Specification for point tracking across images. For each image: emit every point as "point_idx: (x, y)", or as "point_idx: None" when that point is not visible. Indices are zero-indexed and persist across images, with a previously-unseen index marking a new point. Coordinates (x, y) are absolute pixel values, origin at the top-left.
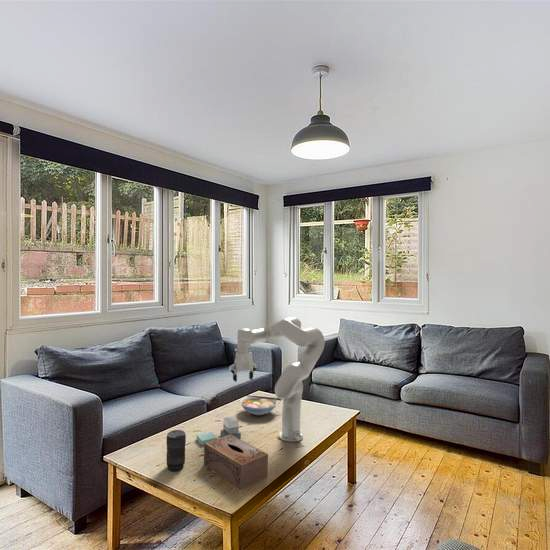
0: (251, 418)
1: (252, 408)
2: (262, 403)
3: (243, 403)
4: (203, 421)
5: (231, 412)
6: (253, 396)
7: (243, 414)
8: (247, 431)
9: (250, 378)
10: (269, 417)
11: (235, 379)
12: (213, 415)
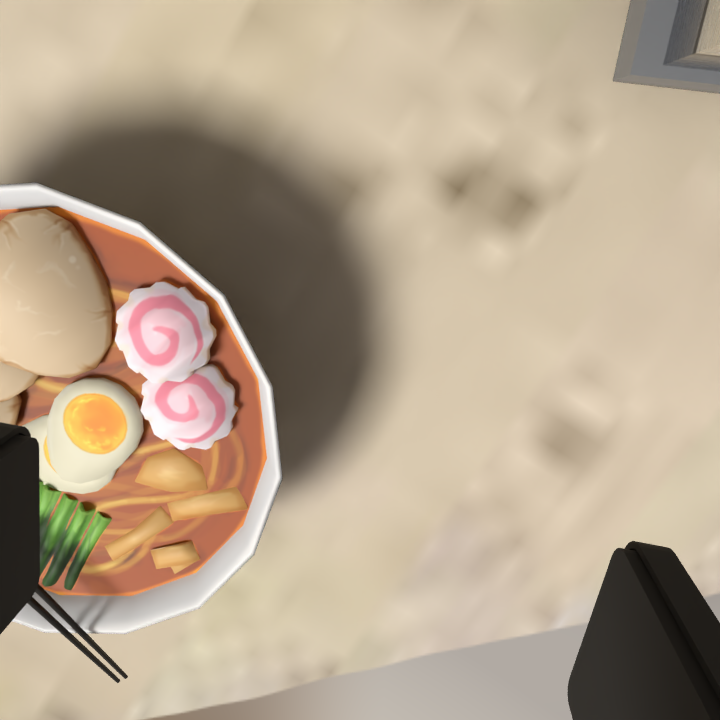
0: (244, 306)
1: (222, 293)
2: (16, 385)
3: (215, 527)
4: (702, 504)
5: (341, 540)
6: None
7: None
8: (479, 9)
9: (21, 509)
10: None
11: (691, 613)
12: (531, 571)
